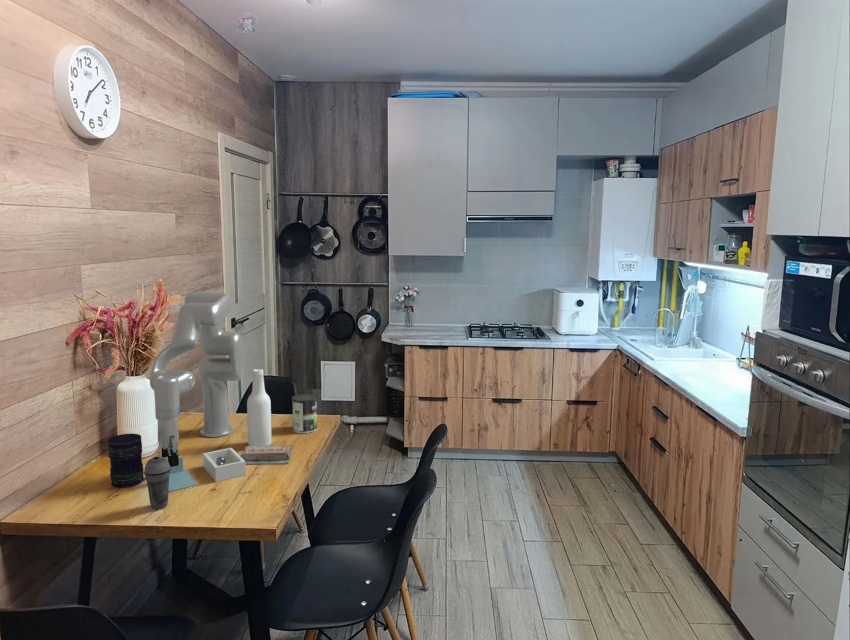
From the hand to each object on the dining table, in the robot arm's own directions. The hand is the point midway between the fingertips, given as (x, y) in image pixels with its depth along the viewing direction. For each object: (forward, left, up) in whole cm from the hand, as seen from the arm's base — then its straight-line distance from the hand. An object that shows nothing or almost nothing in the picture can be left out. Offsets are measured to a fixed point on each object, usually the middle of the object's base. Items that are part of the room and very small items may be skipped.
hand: (170, 461), depth 197 cm
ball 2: (+7, +14, -3) cm, 16 cm away
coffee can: (-18, +57, -5) cm, 60 cm away
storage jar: (-2, -13, -5) cm, 14 cm away
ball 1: (+3, +16, -3) cm, 16 cm away
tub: (+7, +16, -5) cm, 18 cm away
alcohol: (-11, +35, -5) cm, 37 cm away
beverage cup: (+22, -8, -5) cm, 24 cm away
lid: (+6, 0, -5) cm, 8 cm away
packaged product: (+4, +32, -6) cm, 32 cm away
